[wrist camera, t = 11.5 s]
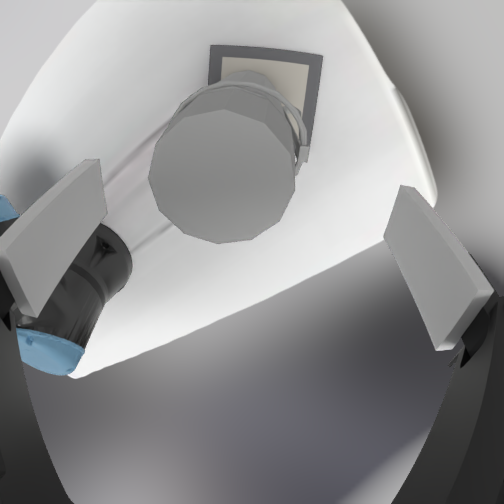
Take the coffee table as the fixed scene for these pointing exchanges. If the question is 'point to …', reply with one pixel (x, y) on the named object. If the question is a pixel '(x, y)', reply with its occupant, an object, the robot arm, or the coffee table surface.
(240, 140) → the water bottle
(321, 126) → the coffee table surface
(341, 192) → the coffee table surface
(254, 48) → the coaster mat
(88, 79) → the coffee table surface
